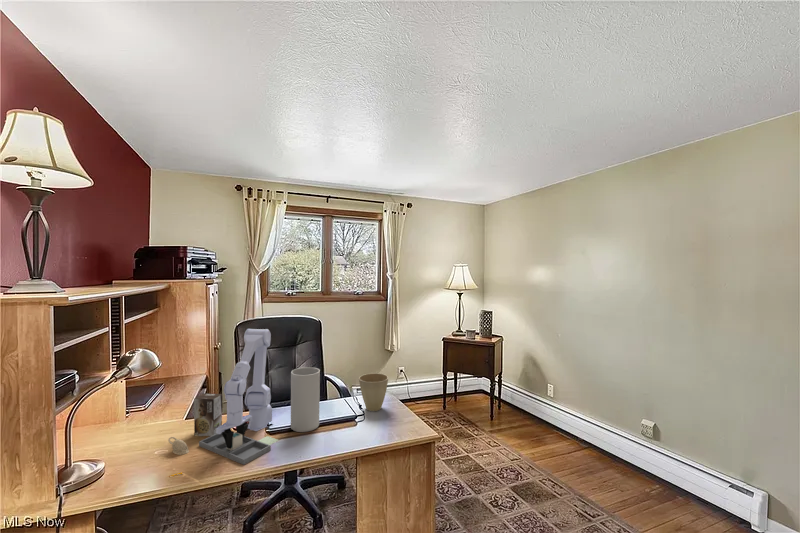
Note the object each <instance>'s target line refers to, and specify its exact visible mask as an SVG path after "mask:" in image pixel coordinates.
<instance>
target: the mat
mask: <svg viewBox="0 0 800 533" xmlns="http://www.w3.org/2000/svg"><path fill="white" fill-rule="evenodd" d="M279 440H280V439H278V438H275V437H271V436H269V435H267V436H265V437H262V438H261V439H259V440H257V441H260V442H263V443H265V444H268V445H271V446H272V445H273V444H275V443H277V442H278V441H279Z"/></svg>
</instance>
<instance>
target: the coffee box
mask: <svg viewBox="0 0 800 533" xmlns="http://www.w3.org/2000/svg"><path fill="white" fill-rule="evenodd" d="M193 404H194V405H193V406H194V408H193V411H194V414H193V415H194V416H193V419H194V420H193V422H194V425H193V426H194V427H193V428H194V429H193V431H194V433H193V434H194V435H193V436H194V437H205V436H206V437H210V436H213V435H215V434H217V433H216V428H218V427H220V426H221V425H223V394H222V393H201V394H199V395H198V396H196V397H194V398H193Z"/></svg>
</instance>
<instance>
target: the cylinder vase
mask: <svg viewBox="0 0 800 533" xmlns="http://www.w3.org/2000/svg"><path fill="white" fill-rule="evenodd" d="M320 371H321V369H320V368H317V367H308V366H307V367H299V368H295V369H292V370H291V372H290V429H291V430H293V432H296V433H307V432H312V431H314V430H316V429H317V428H318V427H319V426H320V400H321V399H320V398H321V397H320V388H321V387H320V383H321V382H320V381H321V374H320V373H321V372H320Z"/></svg>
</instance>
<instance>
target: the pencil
mask: <svg viewBox="0 0 800 533" xmlns="http://www.w3.org/2000/svg"><path fill="white" fill-rule="evenodd" d="M182 473H184V472H183V471H182V472H178V473H174V474H171V475H168V476H167V477H169V478H171V477H170V476H173V477H175V476H174V475H177V474H181V475H183V474H182ZM177 476H178V475H177Z"/></svg>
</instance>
